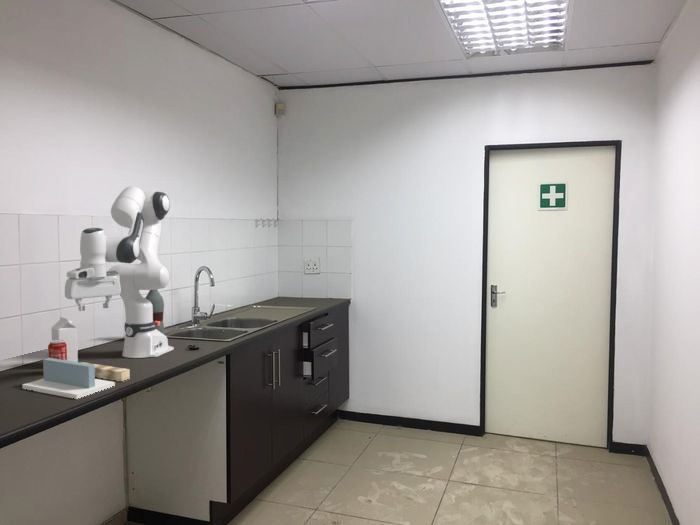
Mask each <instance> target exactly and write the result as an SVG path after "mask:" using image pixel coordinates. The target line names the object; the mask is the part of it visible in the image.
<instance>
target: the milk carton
mask: <svg viewBox="0 0 700 525" xmlns="http://www.w3.org/2000/svg"><path fill="white" fill-rule="evenodd" d="M73 323H74V322H73V321H72V320H70V319H69V318H65V317H64V316H63V317H62V316H59V320H58V321H56V323H55V324H54V325H52V326H51V341H54V340H64V342H65V343H66V344H67V361H73V362H79V358H78V357H79V356H78V355H79V353H78V352H79V351H78V328H77V327H76V326H75V325H73Z"/></svg>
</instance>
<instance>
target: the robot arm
mask: <svg viewBox="0 0 700 525" xmlns="http://www.w3.org/2000/svg"><path fill="white" fill-rule="evenodd" d="M170 207H171V202H170V199H169V196H168V195H167V194H166V193H165V192H162V191H143V190H142V189H141V188H140V187H137V186H133V185H131V186H126V187H125V188H124V189H123V190H122V191H121V192H120V193H119V194H118V196H117V197H116V198H115V199H114V202H113V203H112V205H111V208H110V214H111V218H112V220H113V221H114V222H115V223H116V224H117V225H119V226H121V227H123V228H127V229H128V234H127V235H125V236H121V237H120V236H118V237H117V236H107V235H106V234H105V233H106V232H105V230H104V229H103V228H101V227H91V228H89V227H88V228H85V229H83V230H82V231H81V234H80V243H79V244H80V245H79V253H80V257H81V260H80V263H79V264H80V265H79V267H77V268H75V269H72V270H69V271H67V272H66V277H67V279H66V281H65V283H64V284H65V285H64V296H65V298H66V299H67V300H74V301H75V303H76V305H77V307H78V312H84V311H86V309H85V308H86V306H85V305H83V303H82V302H83V299H91V298H92V299H93V298H101V297H103V298H104V297H105V301H104V303H102V308H103V309H110V303H111V301H112V300H113V296H114V297H115V296H120V299H122V302H123V306H124V313H125V314H124V316H125V322H124V327H123V328H124V332H125V333H124V341H123V349H122V355H121V356H122V357H124V358H130V359H140V358H141V359H142V358H155V357H160V356H162V355H164V354H166V353H169V352H171V351H174V349H175V348H174V346H171V345H169V340H168V337H167V335H165V333H164V334H162V333H161V332H160V331H158V330H157V329H156V326H155V325H157V326H159V325H160V321H155V322H154V321H153V305H152V303H151V302H150V301H149V300H148V299H146V298H145V297H144V296H142V294H141V292H140V291H143V290H144V291H150V290H156V289H157V290H160V289H165V288H166V286H167V285H169V283H170V273H169V270H168V268H166V266H164V264H162V263H161V261H160V259H159V248H160V244H161V243H160V242H161V237H162V222H161V221H162V220H164V219H165V217H166V215H167V214H168V212H169V211H170ZM136 260H139V261H140V263H133V262H135V261H136ZM107 263H122V264H116V265H113V266H111V267H110V268H109V269H108V271H107Z"/></svg>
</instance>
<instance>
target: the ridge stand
mask: <svg viewBox="0 0 700 525" xmlns="http://www.w3.org/2000/svg"><path fill="white" fill-rule="evenodd" d="M86 363H87V362H85V363H80V362H79V361H78V362H73V361H66V360H60V359H53V358H48V357H47V358H43V359H42V365H43V367H42V369H43V371H42V372H43V373H42V374H43V378H41V379H37V380H34V381H33V380H32V381H30V382H27V383H23V384H22V385H21V386H22V389H23V390H26V389H27V390H26V391H31V390H33V392H36V393H41V394H42V393H43V394H48V395H53V396H58V397H63V398H69V399H73V398H74V399H73V400H79V399H81V397H82V398H84V396H85V397H88V396H90V394H91V395H93V393H94V394H96V393H95V392H97V393H99V392H102V391H105V390H108V389H111V388H113V387H112V386H114V387H115V385H116V381H112V380H106V379H101V378H95V365H92V364H93V363H91V364H86ZM110 387H111V388H110ZM107 388H108V389H107ZM104 389H105V390H104ZM101 390H102V391H101ZM98 391H99V392H98ZM87 395H88V396H87ZM78 398H79V399H78Z"/></svg>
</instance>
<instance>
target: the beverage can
mask: <svg viewBox="0 0 700 525" xmlns="http://www.w3.org/2000/svg"><path fill="white" fill-rule="evenodd" d="M47 355H48V357H47V358H53V359H60V360H66V361H67V344H66V343H65V342H64V340H54V341H52V340H51V341H49V344H48V345H47Z"/></svg>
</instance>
